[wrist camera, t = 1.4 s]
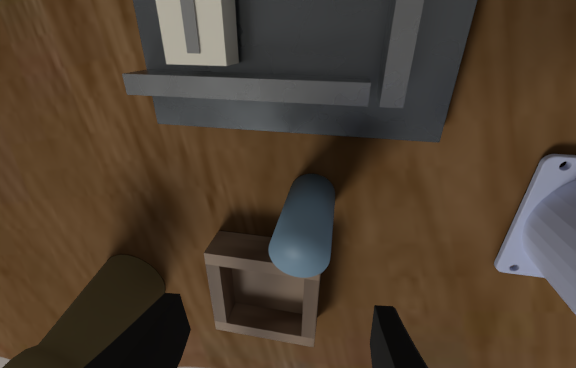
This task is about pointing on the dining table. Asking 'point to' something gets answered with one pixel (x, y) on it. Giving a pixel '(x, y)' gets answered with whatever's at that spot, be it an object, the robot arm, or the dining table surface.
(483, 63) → the dining table surface
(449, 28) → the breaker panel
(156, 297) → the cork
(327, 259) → the blue rounded cylinder
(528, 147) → the dining table surface
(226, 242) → the stylus holder
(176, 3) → the plate
